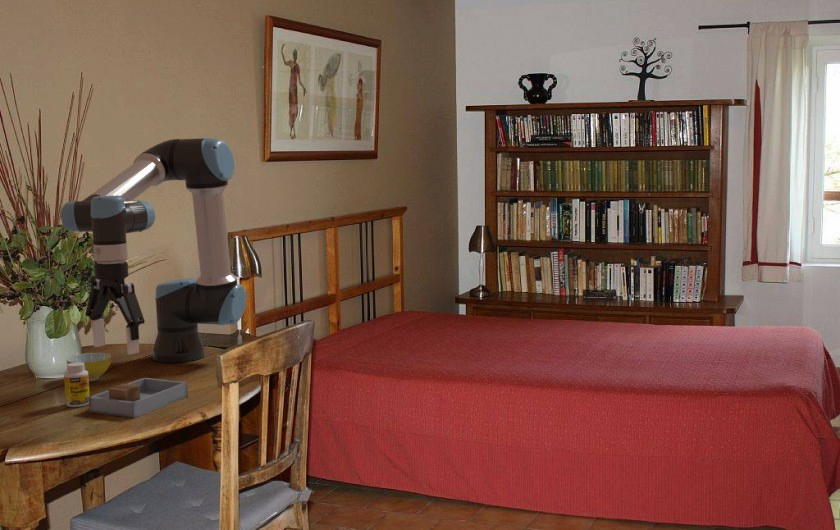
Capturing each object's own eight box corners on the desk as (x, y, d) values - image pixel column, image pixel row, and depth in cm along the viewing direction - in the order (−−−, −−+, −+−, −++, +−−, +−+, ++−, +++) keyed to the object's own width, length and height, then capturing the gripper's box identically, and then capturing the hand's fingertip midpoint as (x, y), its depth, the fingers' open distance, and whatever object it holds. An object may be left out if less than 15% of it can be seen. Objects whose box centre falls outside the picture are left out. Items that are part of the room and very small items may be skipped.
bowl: (121, 376, 252) (120, 354, 251) (91, 386, 241) (89, 363, 240) (89, 372, 256) (88, 351, 255) (58, 382, 246) (56, 360, 245)
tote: (144, 391, 236) (144, 377, 236) (187, 396, 231) (187, 382, 230) (89, 411, 218) (88, 397, 218) (134, 418, 213) (133, 403, 212)
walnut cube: (124, 403, 223) (123, 383, 222) (140, 405, 221) (139, 385, 220) (109, 409, 218) (108, 388, 218) (126, 411, 216) (125, 390, 216)
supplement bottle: (68, 409, 221) (66, 367, 220) (63, 404, 225) (60, 363, 224) (92, 405, 224) (90, 364, 223) (87, 400, 229) (84, 360, 227)
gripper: (66, 259, 221) (72, 346, 223) (128, 267, 205) (134, 359, 208) (94, 256, 226) (99, 340, 229) (156, 263, 211) (161, 353, 214)
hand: (116, 349), depth 219 cm, fingers open, 13 cm apart
